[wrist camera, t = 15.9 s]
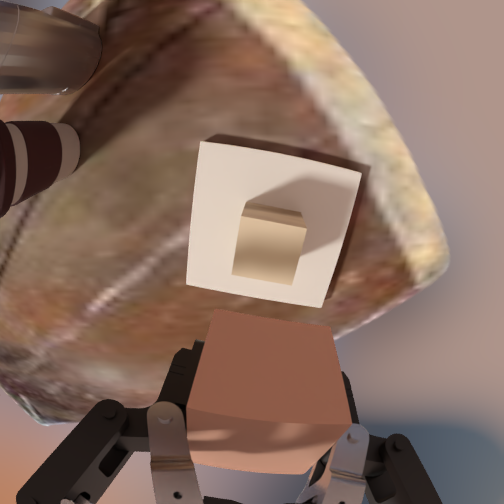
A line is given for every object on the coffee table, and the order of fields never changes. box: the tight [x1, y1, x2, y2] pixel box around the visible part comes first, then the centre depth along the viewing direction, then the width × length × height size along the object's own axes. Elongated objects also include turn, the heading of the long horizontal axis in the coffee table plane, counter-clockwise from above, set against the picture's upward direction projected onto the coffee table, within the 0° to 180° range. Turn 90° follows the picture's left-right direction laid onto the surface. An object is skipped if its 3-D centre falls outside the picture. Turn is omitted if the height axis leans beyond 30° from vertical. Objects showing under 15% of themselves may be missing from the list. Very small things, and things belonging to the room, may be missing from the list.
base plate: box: [186, 141, 362, 308], centre depth 28 cm, size 16×16×1 cm
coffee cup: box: [0, 120, 80, 218], centre depth 19 cm, size 10×10×15 cm
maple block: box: [231, 202, 307, 286], centre depth 26 cm, size 6×6×5 cm
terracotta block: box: [186, 309, 352, 474], centre depth 10 cm, size 5×5×5 cm
